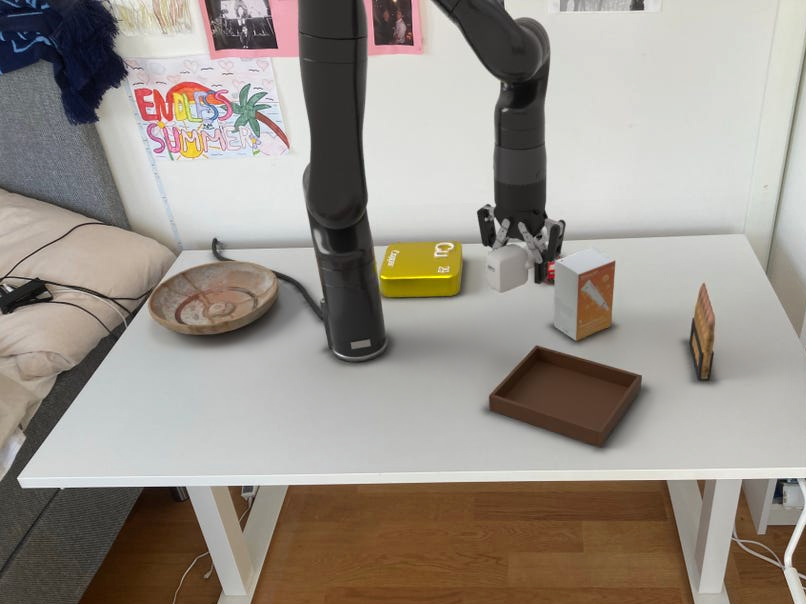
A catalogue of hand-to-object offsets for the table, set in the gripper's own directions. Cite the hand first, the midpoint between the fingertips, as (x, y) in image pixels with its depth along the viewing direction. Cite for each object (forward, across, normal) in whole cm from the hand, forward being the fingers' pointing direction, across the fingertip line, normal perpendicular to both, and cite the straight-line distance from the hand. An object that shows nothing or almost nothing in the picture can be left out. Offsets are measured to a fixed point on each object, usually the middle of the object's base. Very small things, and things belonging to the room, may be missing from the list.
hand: (521, 276), depth 120 cm
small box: (+15, -5, -13) cm, 21 cm away
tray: (+15, -11, +7) cm, 20 cm away
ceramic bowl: (+16, +57, +14) cm, 60 cm away
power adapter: (+1, 0, 0) cm, 1 cm away
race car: (+15, +10, -29) cm, 35 cm away
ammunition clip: (+15, -26, -12) cm, 32 cm away
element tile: (+16, +30, -15) cm, 37 cm away
